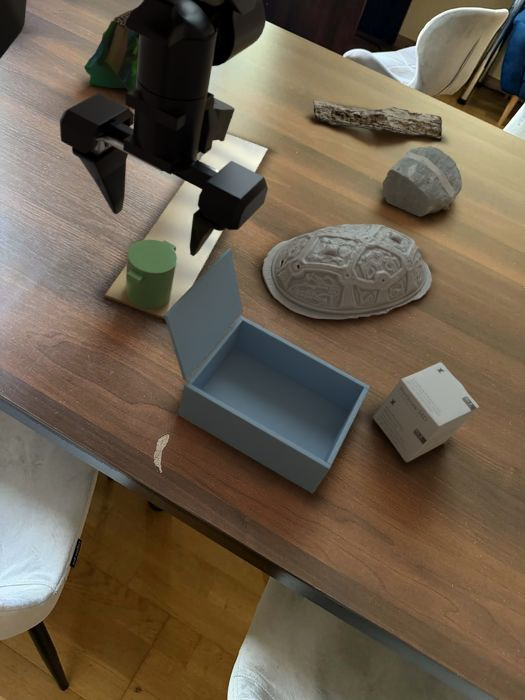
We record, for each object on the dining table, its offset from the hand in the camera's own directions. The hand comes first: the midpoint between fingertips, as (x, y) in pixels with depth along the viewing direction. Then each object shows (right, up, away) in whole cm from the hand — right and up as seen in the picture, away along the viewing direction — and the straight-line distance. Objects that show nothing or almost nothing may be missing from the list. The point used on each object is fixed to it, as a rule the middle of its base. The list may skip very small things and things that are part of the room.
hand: (155, 232), depth 58 cm
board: (+2, +7, +19) cm, 20 cm away
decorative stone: (+35, +13, +34) cm, 50 cm away
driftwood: (+31, +29, +46) cm, 63 cm away
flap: (+6, -8, -5) cm, 11 cm away
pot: (-2, -5, +7) cm, 9 cm away
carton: (+11, -18, +1) cm, 22 cm away
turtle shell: (+22, -2, +18) cm, 29 cm away
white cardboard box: (+26, -21, +4) cm, 34 cm away
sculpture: (-10, +31, +35) cm, 48 cm away
